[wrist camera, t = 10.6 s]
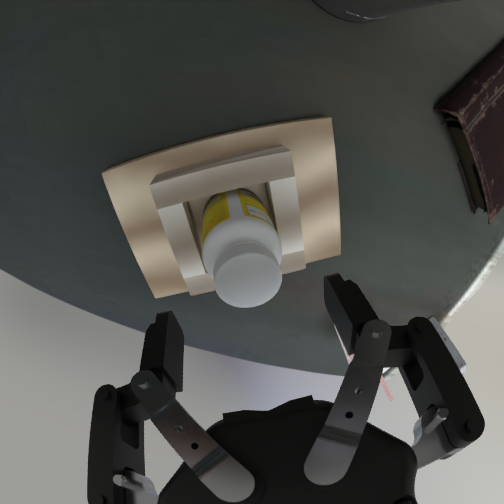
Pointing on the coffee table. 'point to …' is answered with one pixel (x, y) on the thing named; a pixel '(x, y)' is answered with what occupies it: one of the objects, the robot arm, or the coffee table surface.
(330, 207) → the socket board
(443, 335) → the skincare box
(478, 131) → the diary
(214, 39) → the coffee table surface
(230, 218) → the supplement bottle
